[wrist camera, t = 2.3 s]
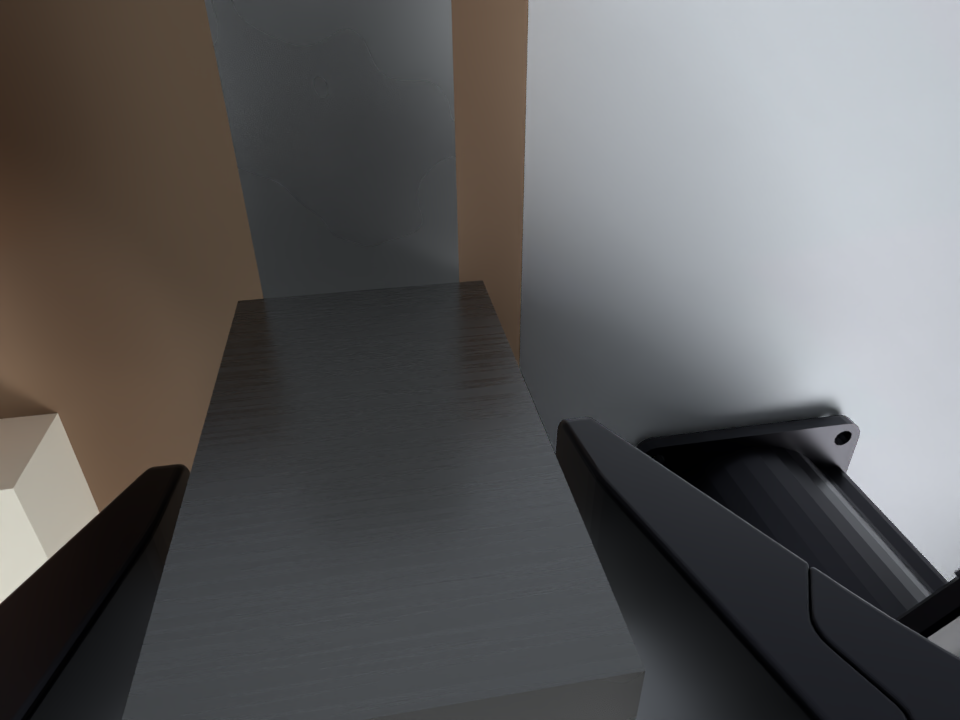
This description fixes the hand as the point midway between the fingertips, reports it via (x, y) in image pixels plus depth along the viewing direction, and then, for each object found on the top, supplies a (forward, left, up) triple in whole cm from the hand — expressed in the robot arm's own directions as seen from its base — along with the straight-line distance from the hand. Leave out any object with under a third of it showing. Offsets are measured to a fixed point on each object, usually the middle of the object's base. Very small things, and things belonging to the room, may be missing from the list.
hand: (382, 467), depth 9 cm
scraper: (0, 0, -4) cm, 4 cm away
